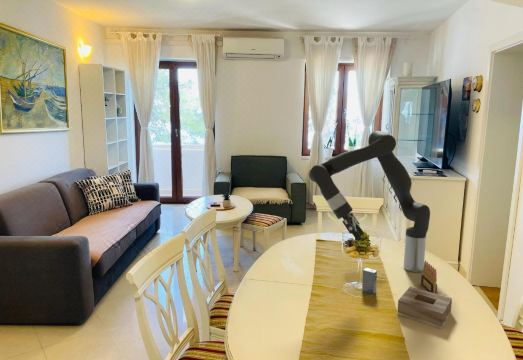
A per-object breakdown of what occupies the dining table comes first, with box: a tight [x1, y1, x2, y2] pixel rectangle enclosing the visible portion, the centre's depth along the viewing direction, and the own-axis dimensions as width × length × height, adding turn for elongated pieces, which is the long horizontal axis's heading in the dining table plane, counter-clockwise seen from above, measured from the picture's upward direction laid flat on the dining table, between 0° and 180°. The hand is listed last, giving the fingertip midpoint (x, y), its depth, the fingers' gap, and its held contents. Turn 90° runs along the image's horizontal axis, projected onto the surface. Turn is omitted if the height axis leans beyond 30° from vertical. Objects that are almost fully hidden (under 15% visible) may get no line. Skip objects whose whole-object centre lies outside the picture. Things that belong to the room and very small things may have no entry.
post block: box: [396, 286, 453, 329], centre depth 148 cm, size 14×16×6 cm
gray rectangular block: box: [361, 267, 378, 295], centre depth 165 cm, size 3×5×10 cm, turn 52°
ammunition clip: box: [420, 259, 438, 294], centre depth 166 cm, size 11×2×12 cm, turn 3°
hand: (361, 237), depth 162 cm, fingers open, 8 cm apart
